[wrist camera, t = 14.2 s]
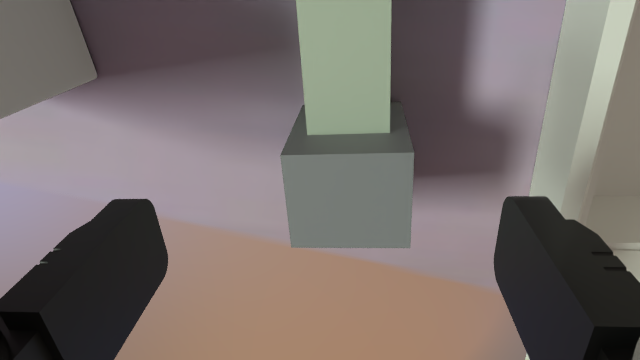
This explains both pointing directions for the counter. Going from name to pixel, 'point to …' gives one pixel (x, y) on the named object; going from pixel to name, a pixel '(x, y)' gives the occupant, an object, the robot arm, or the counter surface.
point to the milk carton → (40, 53)
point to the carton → (595, 125)
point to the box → (348, 133)
